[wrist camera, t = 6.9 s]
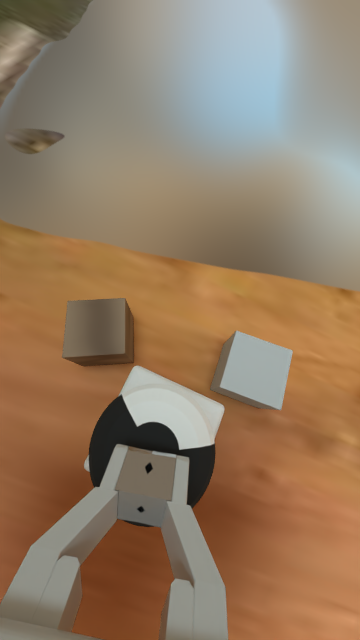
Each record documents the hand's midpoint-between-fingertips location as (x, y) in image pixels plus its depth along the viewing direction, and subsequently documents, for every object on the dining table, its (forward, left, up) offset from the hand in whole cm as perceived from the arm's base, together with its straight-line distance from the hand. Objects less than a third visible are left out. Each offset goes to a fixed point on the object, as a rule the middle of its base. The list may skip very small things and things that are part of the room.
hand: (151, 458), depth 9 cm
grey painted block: (+7, +6, -13) cm, 16 cm away
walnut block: (-7, +7, -13) cm, 16 cm away
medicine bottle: (0, 0, -13) cm, 13 cm away
